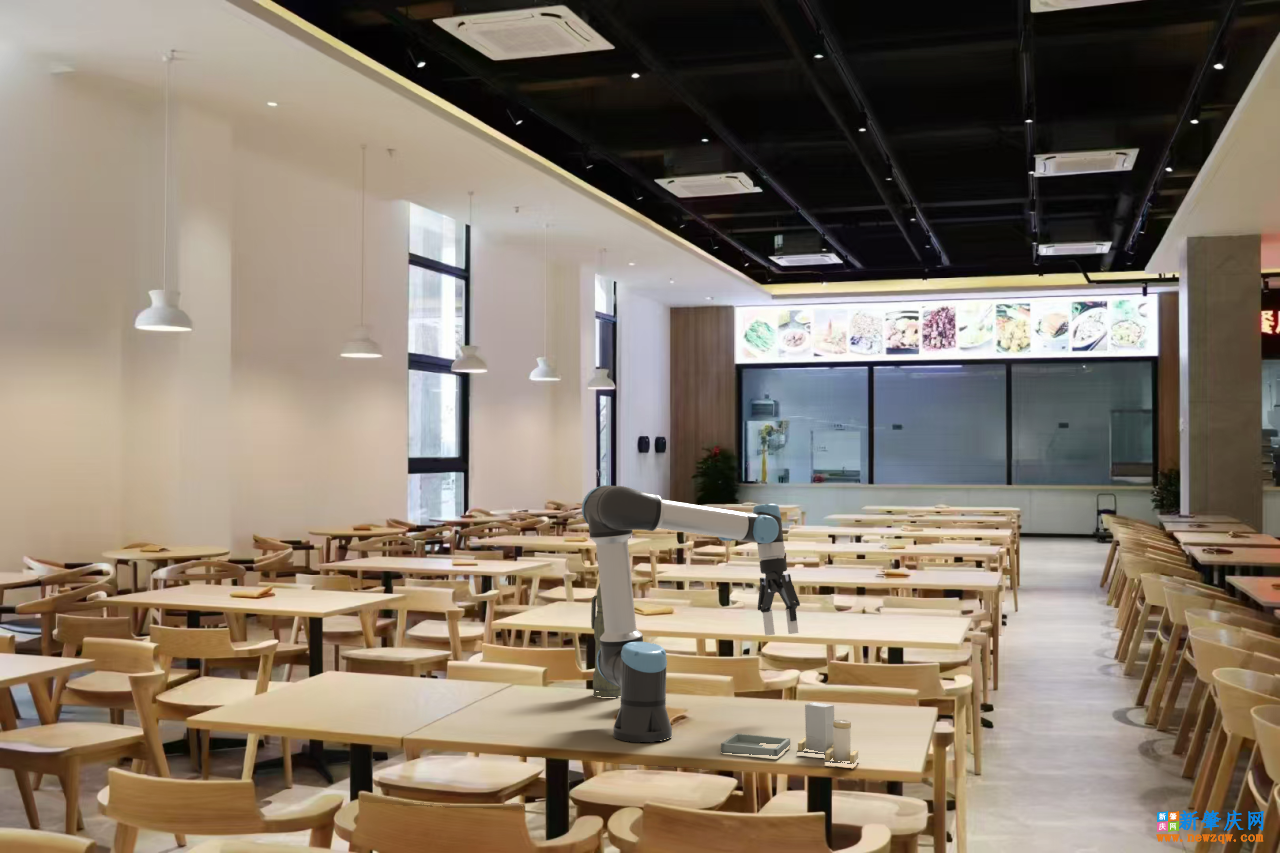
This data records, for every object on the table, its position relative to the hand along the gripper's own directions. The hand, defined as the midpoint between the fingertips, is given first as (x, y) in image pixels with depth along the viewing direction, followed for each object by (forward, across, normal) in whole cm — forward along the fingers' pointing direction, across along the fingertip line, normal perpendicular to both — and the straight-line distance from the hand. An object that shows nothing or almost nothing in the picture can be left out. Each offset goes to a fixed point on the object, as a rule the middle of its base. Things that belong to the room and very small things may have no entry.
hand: (781, 634), depth 323 cm
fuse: (+30, -46, +14) cm, 57 cm away
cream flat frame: (+29, -40, +13) cm, 51 cm away
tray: (+27, -28, +27) cm, 47 cm away
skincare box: (+29, -36, +13) cm, 48 cm away
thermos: (+14, +50, +35) cm, 63 cm away
